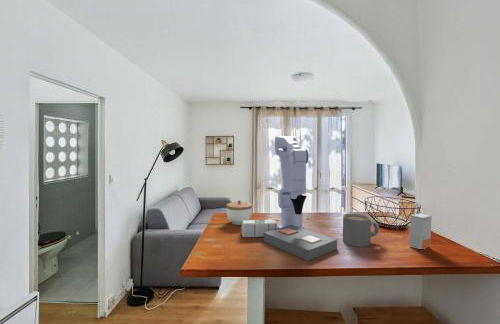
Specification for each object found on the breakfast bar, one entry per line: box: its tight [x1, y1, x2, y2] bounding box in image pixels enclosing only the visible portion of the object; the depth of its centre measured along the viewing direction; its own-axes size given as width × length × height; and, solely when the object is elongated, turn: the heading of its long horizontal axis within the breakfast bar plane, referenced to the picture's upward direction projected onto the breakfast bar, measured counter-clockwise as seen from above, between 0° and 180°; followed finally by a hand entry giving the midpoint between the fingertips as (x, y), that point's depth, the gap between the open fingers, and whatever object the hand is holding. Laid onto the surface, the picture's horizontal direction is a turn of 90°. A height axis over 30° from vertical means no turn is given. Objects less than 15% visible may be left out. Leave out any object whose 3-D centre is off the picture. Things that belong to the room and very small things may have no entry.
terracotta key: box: [279, 228, 297, 236], centre depth 99 cm, size 5×5×4 cm
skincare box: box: [409, 213, 432, 250], centre depth 92 cm, size 6×4×12 cm
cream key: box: [301, 235, 321, 244], centre depth 91 cm, size 5×5×4 cm
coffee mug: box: [342, 212, 380, 248], centre depth 97 cm, size 13×10×10 cm
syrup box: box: [241, 219, 278, 238], centre depth 106 cm, size 6×6×14 cm
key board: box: [263, 225, 338, 262], centre depth 95 cm, size 16×22×4 cm
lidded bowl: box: [225, 199, 253, 226], centre depth 123 cm, size 13×13×11 cm
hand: (298, 214), depth 100 cm, fingers closed
